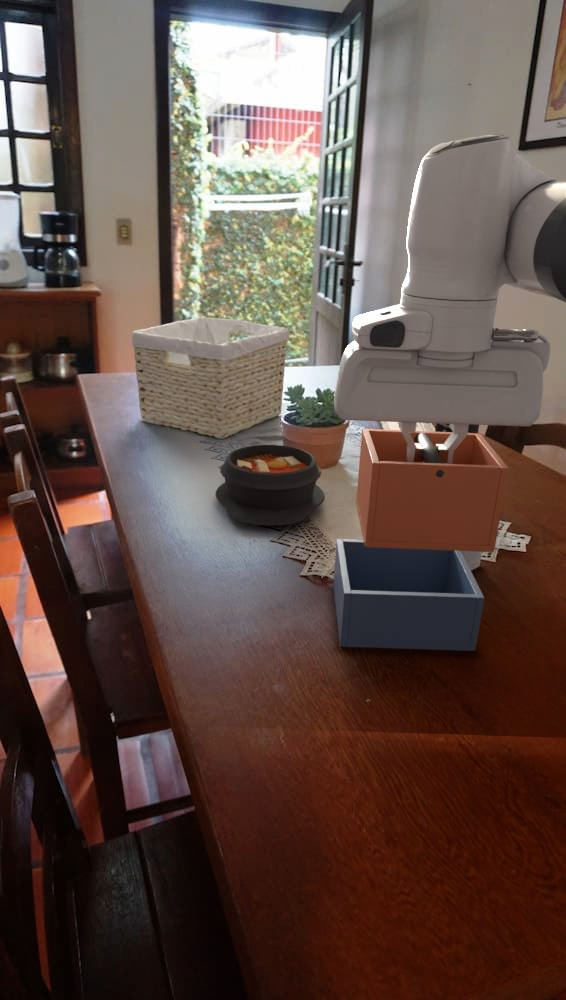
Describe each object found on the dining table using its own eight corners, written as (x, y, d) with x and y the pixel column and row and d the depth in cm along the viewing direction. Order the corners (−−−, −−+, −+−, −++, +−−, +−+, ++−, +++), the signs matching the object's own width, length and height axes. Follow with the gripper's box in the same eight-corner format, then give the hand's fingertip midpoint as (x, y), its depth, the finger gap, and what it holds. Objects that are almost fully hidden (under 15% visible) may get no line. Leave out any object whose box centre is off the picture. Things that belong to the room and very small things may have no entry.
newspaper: (441, 440, 153) (441, 429, 152) (386, 443, 153) (386, 433, 152) (424, 411, 174) (424, 402, 172) (375, 414, 174) (375, 405, 173)
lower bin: (449, 594, 91) (457, 542, 88) (474, 656, 79) (484, 597, 76) (332, 590, 91) (336, 538, 88) (339, 651, 79) (344, 593, 76)
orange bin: (468, 507, 79) (480, 432, 75) (494, 552, 68) (509, 468, 65) (355, 503, 79) (362, 428, 75) (364, 547, 68) (372, 463, 65)
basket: (224, 445, 145) (224, 341, 136) (130, 422, 158) (124, 326, 149) (290, 416, 166) (293, 325, 158) (202, 398, 179) (201, 313, 170)
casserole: (325, 539, 105) (328, 488, 102) (205, 533, 106) (204, 483, 102) (323, 479, 128) (325, 437, 125) (224, 475, 129) (224, 433, 125)
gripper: (542, 325, 68) (519, 455, 73) (337, 317, 68) (329, 449, 74) (566, 336, 62) (538, 477, 68) (341, 328, 62) (332, 470, 68)
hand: (428, 462), depth 71 cm, fingers closed on orange bin
